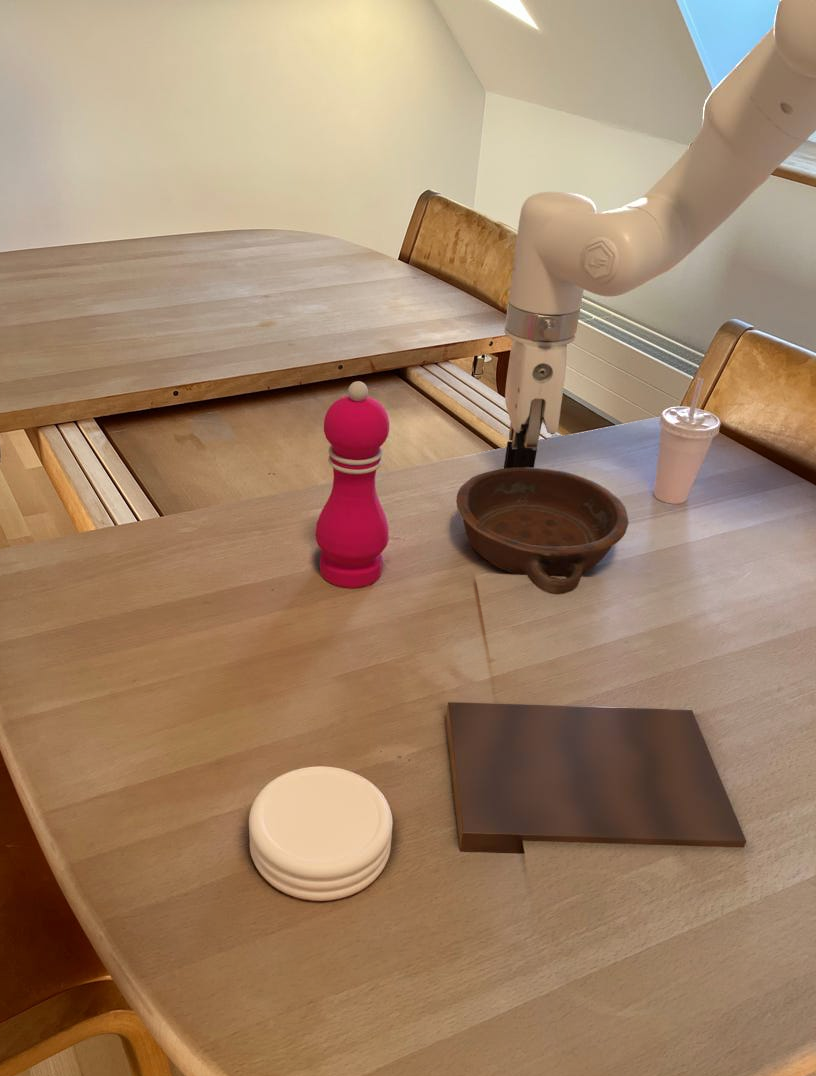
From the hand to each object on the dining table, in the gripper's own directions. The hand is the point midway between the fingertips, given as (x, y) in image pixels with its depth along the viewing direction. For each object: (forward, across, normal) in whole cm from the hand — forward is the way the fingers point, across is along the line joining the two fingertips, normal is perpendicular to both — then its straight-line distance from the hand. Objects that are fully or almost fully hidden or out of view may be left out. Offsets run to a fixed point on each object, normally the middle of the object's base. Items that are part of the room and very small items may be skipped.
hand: (517, 475), depth 114 cm
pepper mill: (+1, -21, +19) cm, 28 cm away
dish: (+1, -15, 0) cm, 15 cm away
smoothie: (+1, -3, -18) cm, 18 cm away
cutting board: (+1, -50, +1) cm, 50 cm away
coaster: (+1, -57, +21) cm, 61 cm away
